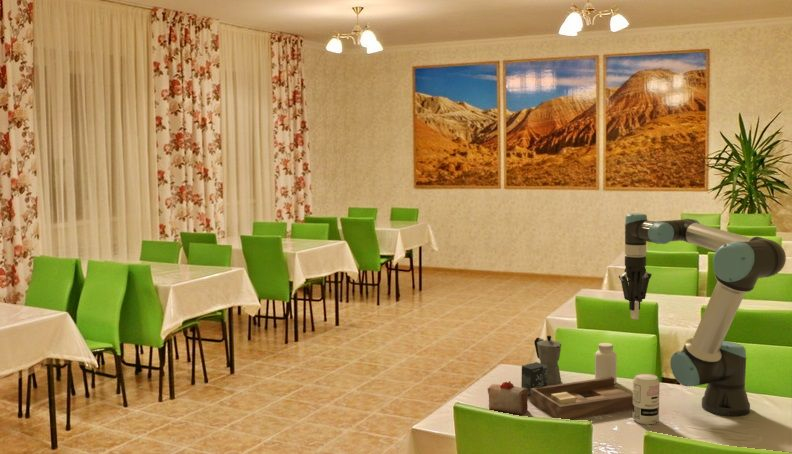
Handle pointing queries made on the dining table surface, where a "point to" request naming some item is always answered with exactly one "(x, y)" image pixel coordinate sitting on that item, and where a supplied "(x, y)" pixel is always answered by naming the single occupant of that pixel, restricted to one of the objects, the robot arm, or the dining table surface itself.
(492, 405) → the food item
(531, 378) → the box
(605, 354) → the pill bottle
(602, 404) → the divided wooden tray
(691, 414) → the dining table surface
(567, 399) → the block
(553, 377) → the coffeepot
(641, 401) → the supplement can
